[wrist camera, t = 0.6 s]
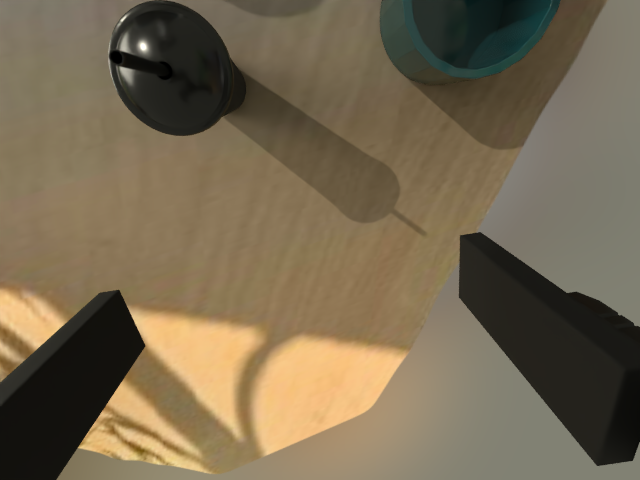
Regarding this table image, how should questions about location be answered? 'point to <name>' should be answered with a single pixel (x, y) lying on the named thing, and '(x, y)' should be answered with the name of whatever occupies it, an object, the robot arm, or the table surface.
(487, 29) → the teal cup
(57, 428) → the robot arm
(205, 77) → the drinking cup
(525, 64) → the table surface
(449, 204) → the table surface
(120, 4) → the table surface
